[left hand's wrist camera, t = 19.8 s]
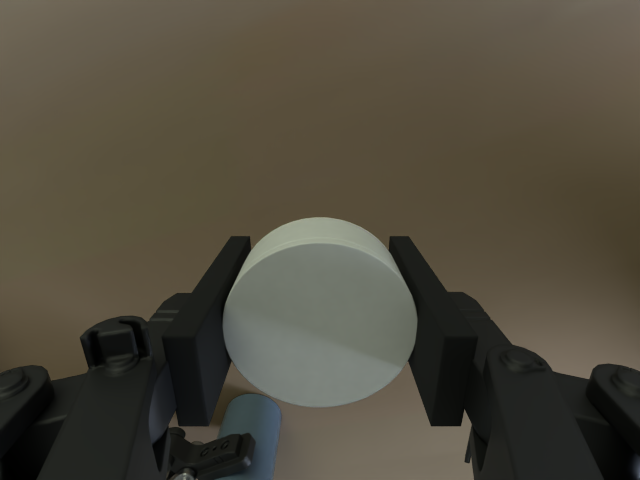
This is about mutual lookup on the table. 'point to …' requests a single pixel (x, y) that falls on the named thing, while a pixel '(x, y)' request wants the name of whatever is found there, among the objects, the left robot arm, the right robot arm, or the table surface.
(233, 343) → the lid
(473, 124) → the table surface
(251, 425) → the bottle
